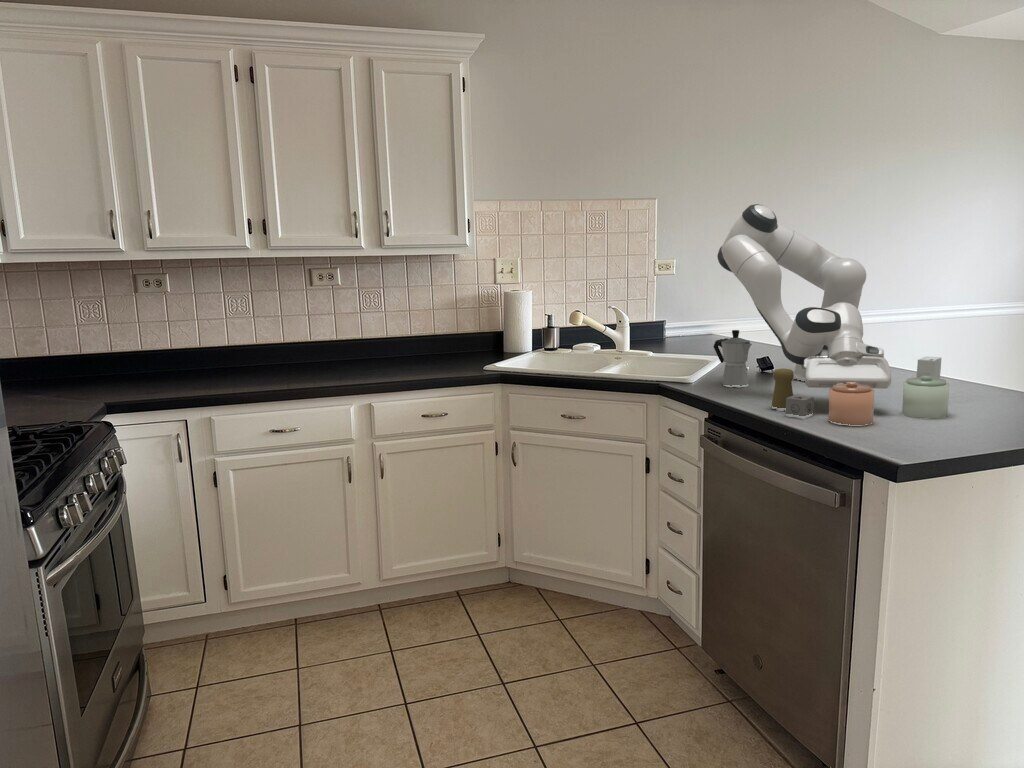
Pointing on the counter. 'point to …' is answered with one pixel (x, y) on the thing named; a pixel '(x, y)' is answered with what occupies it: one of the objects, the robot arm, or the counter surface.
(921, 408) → the sage canister
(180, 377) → the counter surface
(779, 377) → the cork
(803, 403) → the dice cube
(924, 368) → the skincare box
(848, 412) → the terracotta canister
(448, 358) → the counter surface
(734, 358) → the coffee maker
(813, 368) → the robot arm
